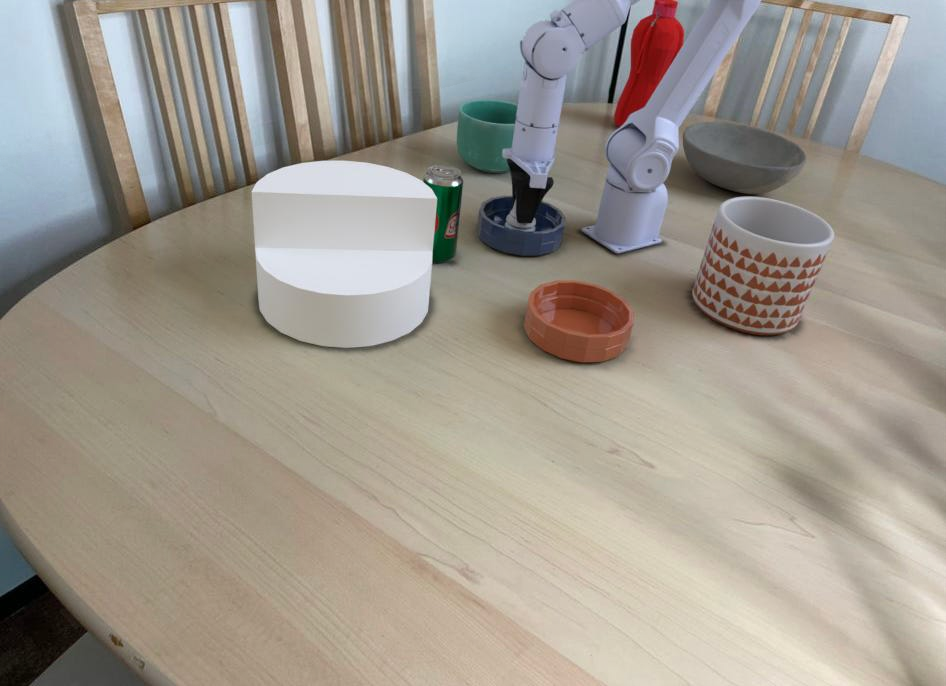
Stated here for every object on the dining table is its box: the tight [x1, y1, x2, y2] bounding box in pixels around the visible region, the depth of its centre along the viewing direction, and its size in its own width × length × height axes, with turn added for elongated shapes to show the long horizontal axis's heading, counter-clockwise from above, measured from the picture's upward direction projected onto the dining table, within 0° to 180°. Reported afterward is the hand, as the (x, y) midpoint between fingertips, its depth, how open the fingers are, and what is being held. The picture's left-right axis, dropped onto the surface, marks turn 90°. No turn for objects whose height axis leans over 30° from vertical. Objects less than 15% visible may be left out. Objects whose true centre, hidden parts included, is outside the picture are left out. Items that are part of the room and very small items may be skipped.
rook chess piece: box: [505, 192, 536, 231], centre depth 104 cm, size 4×4×8 cm
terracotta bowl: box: [523, 279, 635, 363], centre depth 87 cm, size 12×12×4 cm
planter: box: [691, 196, 835, 336], centre depth 94 cm, size 14×14×13 cm
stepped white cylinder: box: [251, 160, 437, 349], centre depth 85 cm, size 20×20×13 cm
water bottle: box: [613, 0, 685, 128], centre depth 148 cm, size 9×11×25 cm
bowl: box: [682, 121, 807, 195], centre depth 132 cm, size 21×21×8 cm
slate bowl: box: [476, 195, 567, 257], centre depth 106 cm, size 12×12×4 cm
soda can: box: [422, 164, 464, 264], centre depth 97 cm, size 5×5×12 cm
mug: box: [456, 99, 518, 174], centre depth 128 cm, size 17×13×10 cm
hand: (522, 215), depth 105 cm, fingers closed on rook chess piece, 3 cm apart
